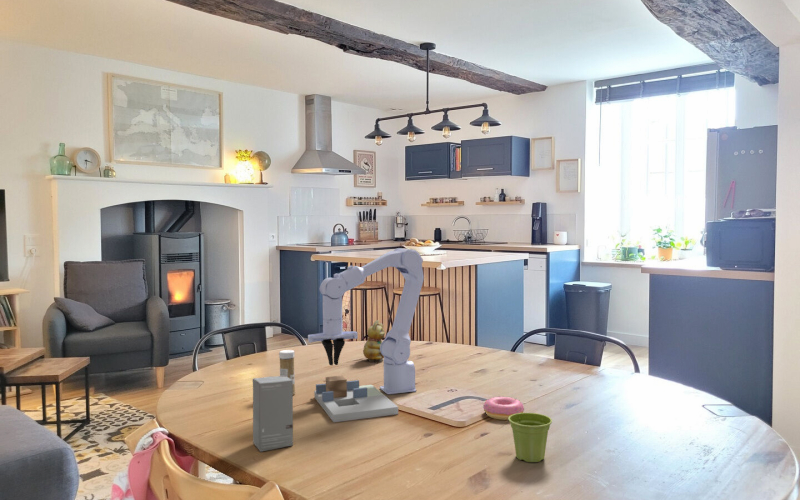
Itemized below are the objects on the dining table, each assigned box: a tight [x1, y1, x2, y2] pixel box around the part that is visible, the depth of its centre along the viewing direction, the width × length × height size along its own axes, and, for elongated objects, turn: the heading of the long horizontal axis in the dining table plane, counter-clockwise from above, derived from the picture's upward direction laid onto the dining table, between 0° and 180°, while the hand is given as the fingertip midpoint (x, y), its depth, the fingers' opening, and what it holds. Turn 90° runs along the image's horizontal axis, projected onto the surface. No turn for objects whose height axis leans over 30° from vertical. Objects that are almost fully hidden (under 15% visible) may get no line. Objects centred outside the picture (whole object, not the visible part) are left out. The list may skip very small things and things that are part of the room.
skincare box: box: [252, 375, 294, 453], centre depth 143 cm, size 8×7×16 cm
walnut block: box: [325, 375, 348, 398], centre depth 176 cm, size 5×5×5 cm
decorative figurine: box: [362, 319, 386, 363], centre depth 228 cm, size 10×8×15 cm
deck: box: [313, 379, 399, 423], centre depth 173 cm, size 18×24×4 cm
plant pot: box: [507, 412, 553, 463], centre depth 134 cm, size 9×9×9 cm
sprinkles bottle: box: [278, 349, 296, 396], centre depth 184 cm, size 5×5×14 cm
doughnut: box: [482, 396, 525, 421], centre depth 164 cm, size 11×11×4 cm
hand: (333, 364), depth 179 cm, fingers closed
